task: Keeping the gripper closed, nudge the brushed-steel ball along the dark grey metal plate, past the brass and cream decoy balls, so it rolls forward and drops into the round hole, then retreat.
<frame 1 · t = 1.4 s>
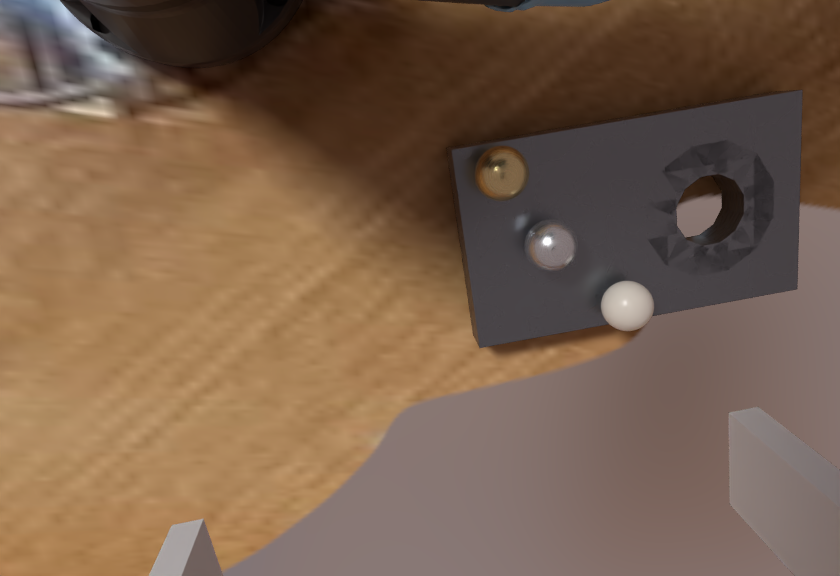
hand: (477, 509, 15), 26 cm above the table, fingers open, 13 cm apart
cream decoy: (627, 305, 38), point 4 cm above the table, touching plate
plate: (619, 217, 40), on the table
steel ball: (551, 245, 36), point 4 cm above the table, touching plate
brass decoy: (501, 173, 35), point 4 cm above the table, touching plate
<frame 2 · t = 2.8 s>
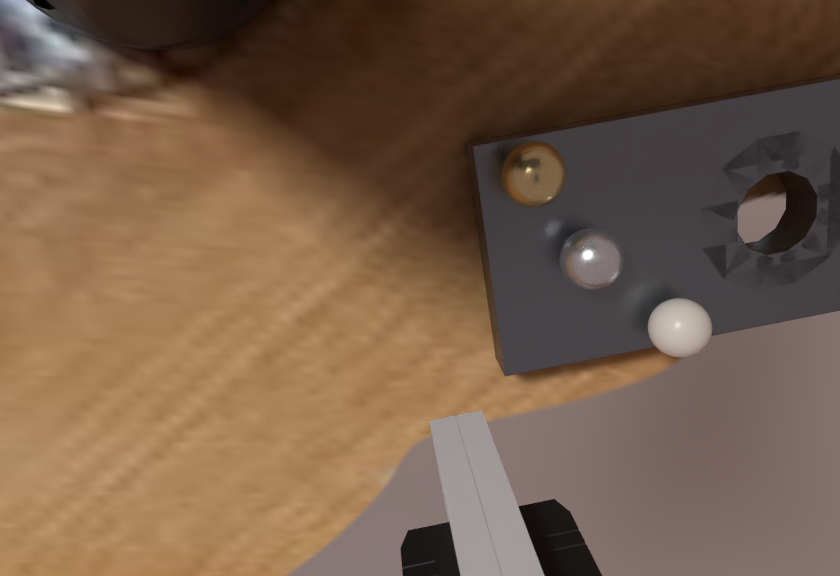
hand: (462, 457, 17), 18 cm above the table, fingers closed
cream decoy: (679, 327, 32), point 4 cm above the table, touching plate
plate: (666, 221, 35), on the table
steel ball: (591, 259, 31), point 4 cm above the table, touching plate
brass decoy: (533, 175, 29), point 4 cm above the table, touching plate
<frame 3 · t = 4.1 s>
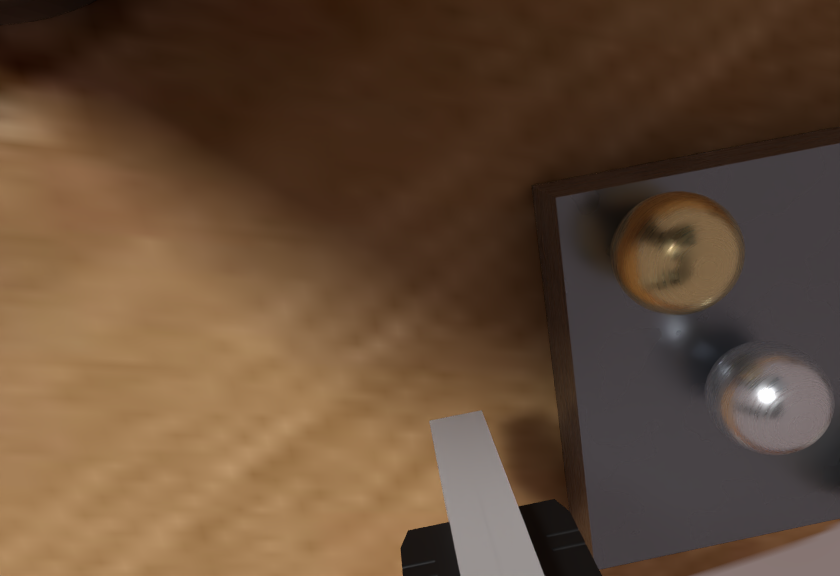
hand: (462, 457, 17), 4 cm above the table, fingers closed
steel ball: (766, 396, 17), point 4 cm above the table, touching plate
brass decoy: (675, 253, 15), point 4 cm above the table, touching plate
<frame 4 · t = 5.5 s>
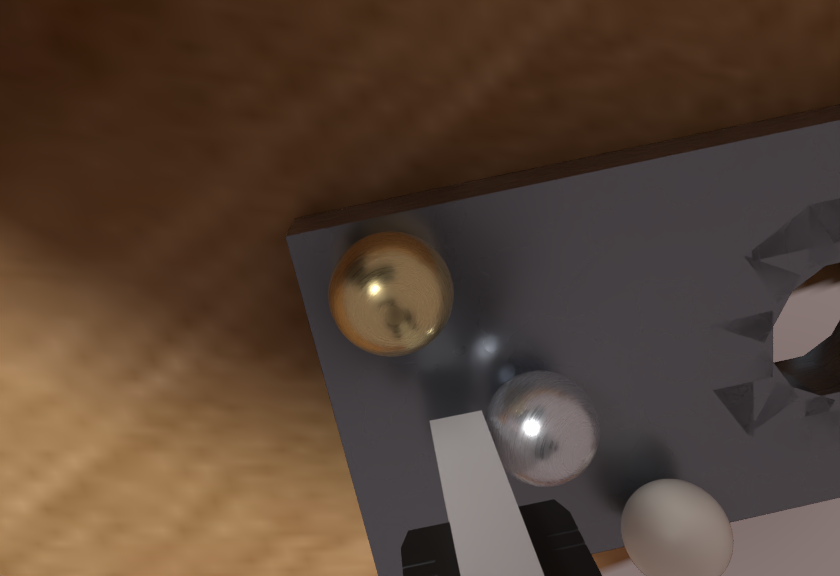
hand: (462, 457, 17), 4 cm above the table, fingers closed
cream decoy: (675, 532, 19), point 4 cm above the table, touching plate
plate: (651, 332, 21), on the table
steel ball: (541, 427, 17), point 4 cm above the table, tilted 28°, touching plate
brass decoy: (391, 293, 15), point 4 cm above the table, touching plate
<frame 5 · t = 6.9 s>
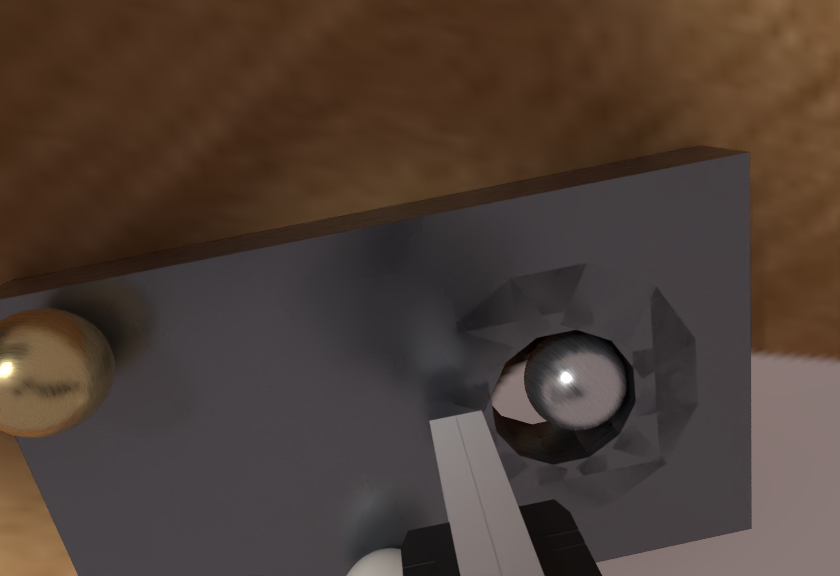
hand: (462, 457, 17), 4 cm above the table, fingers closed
plate: (400, 394, 21), on the table
steel ball: (574, 379, 19), point 2 cm above the table, tilted 102°
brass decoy: (43, 372, 15), point 4 cm above the table, touching plate
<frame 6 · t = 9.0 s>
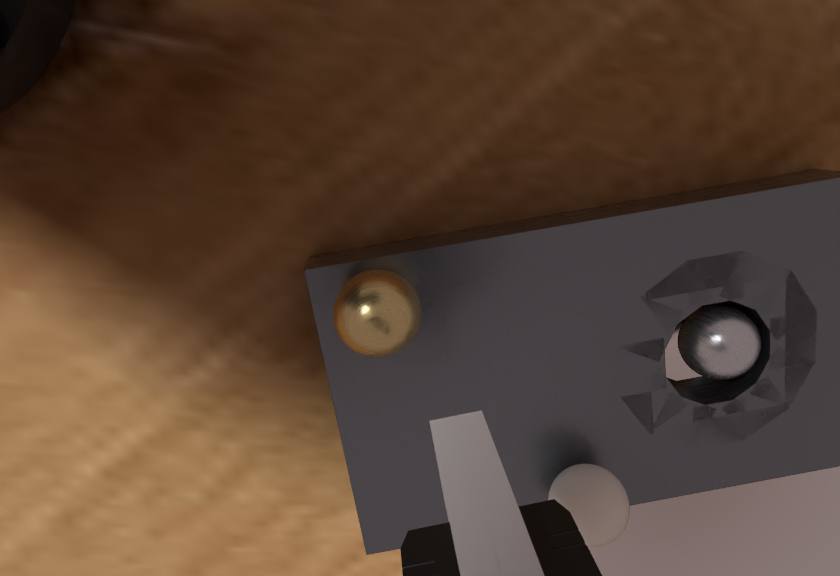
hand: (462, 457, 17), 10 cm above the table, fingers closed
cream decoy: (588, 504, 24), point 4 cm above the table, touching plate
plate: (580, 353, 27), on the table
steel ball: (718, 341, 26), point 2 cm above the table, tilted 99°
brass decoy: (377, 313, 22), point 4 cm above the table, touching plate
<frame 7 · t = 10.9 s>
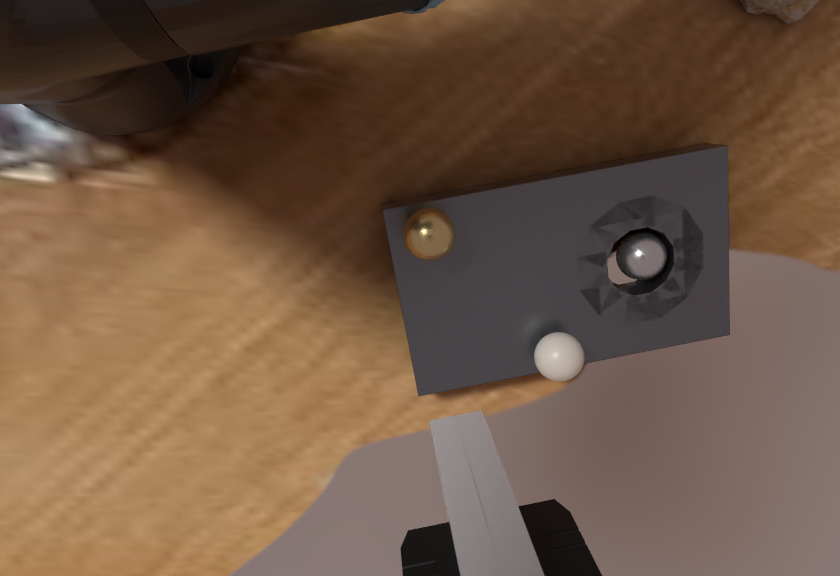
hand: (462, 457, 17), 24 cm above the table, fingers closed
cream decoy: (559, 356, 39), point 4 cm above the table, touching plate
plate: (555, 266, 41), on the table
steel ball: (641, 255, 40), point 2 cm above the table, tilted 96°
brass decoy: (429, 234, 36), point 4 cm above the table, touching plate
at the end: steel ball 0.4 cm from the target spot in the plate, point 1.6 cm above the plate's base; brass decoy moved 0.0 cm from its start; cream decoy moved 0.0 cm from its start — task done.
